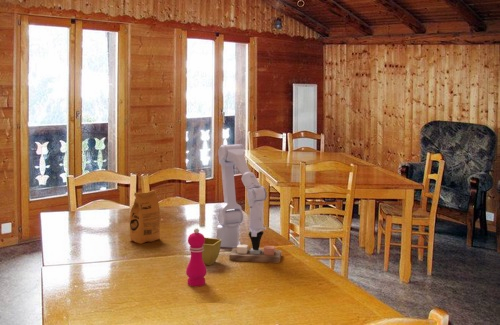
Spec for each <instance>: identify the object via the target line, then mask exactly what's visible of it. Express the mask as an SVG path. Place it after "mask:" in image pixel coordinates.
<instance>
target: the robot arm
mask: <svg viewBox="0 0 500 325" xmlns="http://www.w3.org/2000/svg"><path fill="white" fill-rule="evenodd" d="M217 154H218V164H219V165H220V166H221V179H222V191H223V192H222V193H223V201H224V202H223V203H222V205H221V206H220V207H219V208H218V216H217V218H218V220H217V221H218V223H219V224H218V225H217V227H216V228H217V229H216V239H221V246H220V248H230V249H231V248H232V249H233V248H237V246H238V244H241V241H240V226H241V224H242V223H243V221H244V214H243V210H242V209H243V208H242V206H241V205H240V204H238V202H237V197H236V186H235V185H236V184H235V174H234V173H235V171H234V167H235V166H236V167H237V169H238V171H239V172H240V175H241V181H242V184H243V185H244V187H245V190H246V199H247V204H248V205H247V206H249V217H248V221H249V222H248V230H249V232H248V237H249V238H250V242H251V246H252V247H251V248H253V250H258V249H259V248H260V245H261V240H262V238H263V235H264V231H266V230H267V227H265V226H264V208H265V206H264V204H265V203H264V202H265V201H266V200H267V197H268V194H267V193H268V192H267V190H266V188H265V186H262V184H260V183H259V180H258V179H257V177H256V174H255V173H254V172H252V171H251V170H250V168H249V165H248V164H247V160H246V158H245V155H246V150H245V147H244V145H243V144H242V143H237V144H221V145H220V146H219V148H218V150H217Z"/></svg>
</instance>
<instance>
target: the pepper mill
mask: <svg viewBox="0 0 500 325" xmlns="http://www.w3.org/2000/svg"><path fill="white" fill-rule="evenodd" d="M205 238H206V237H205V236H204V234H203V233H201V232H200V230H199V229H198V228H194V230H193V232H191V233H190V234H189V235H188V238H187V243H188V245H189V250H188V251H189V252H190V259H189V262H188V263H187V266H186V271H185V274H186V276H187V277H188V278H187V285H188V286H190V287H202V286H204V285H206V278H205V277H206V275H207V272H208V271H207V267H206V264H204V262H203V259H202V251H203V250H204V249H203V248H204V247H203V244H204V243H205ZM201 285H202V286H201Z"/></svg>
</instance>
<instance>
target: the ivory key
mask: <svg viewBox="0 0 500 325" xmlns="http://www.w3.org/2000/svg"><path fill="white" fill-rule="evenodd" d="M248 249H249V245H248V244H238V246H237V253H241V254H247V253H248Z"/></svg>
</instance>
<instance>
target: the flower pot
mask: <svg viewBox="0 0 500 325" xmlns="http://www.w3.org/2000/svg"><path fill="white" fill-rule="evenodd" d="M220 246H221V239H217V238H212V237H205V243H204V244H203V247H204V248H203V249H204V250H203V251H202V259H203V262H204V264H205V266H206V265H207V266H211V265H213V264H214V263H216V260H217V259H218V257H219V255H220V250H221V247H220Z"/></svg>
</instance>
